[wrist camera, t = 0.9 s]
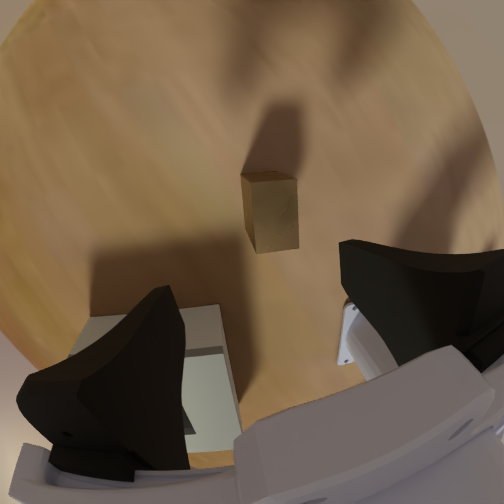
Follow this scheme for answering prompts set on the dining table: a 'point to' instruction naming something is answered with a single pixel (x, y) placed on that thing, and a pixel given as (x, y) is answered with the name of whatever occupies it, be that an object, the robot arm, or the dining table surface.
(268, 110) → the dining table surface
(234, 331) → the dining table surface
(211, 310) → the box
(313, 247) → the dining table surface
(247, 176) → the tan rectangular block
